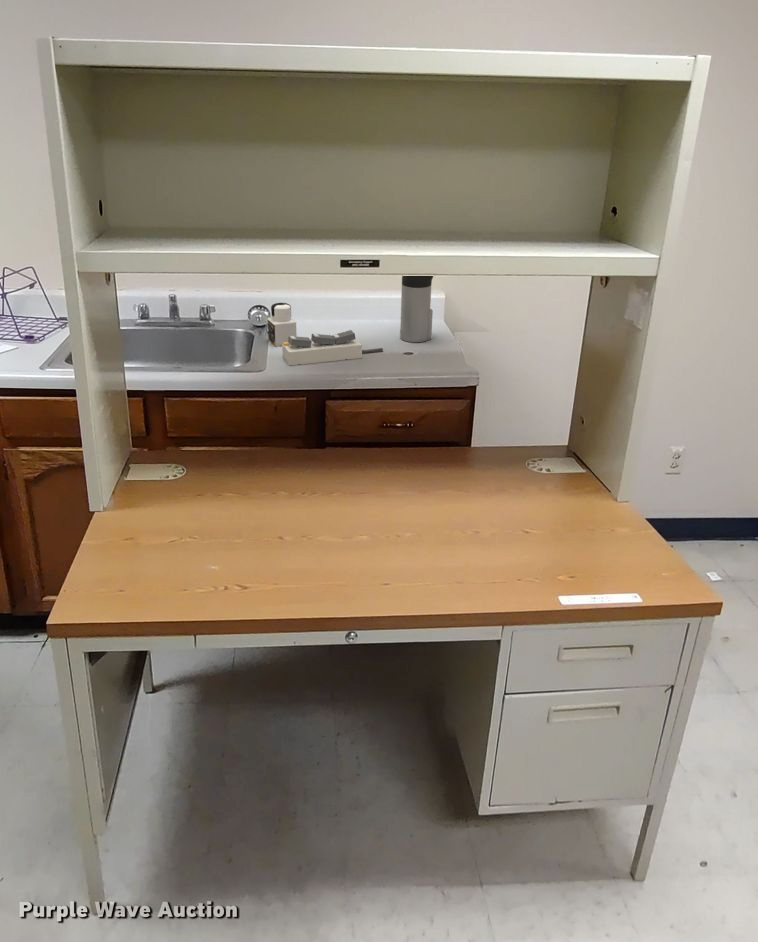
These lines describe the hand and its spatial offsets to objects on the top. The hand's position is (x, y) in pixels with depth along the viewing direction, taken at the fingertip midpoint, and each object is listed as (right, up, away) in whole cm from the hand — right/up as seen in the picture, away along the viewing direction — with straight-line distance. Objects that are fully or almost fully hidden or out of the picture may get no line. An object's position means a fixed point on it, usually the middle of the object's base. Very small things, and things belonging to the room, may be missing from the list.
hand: (320, 272), depth 212 cm
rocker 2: (+6, -18, +12) cm, 22 cm away
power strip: (+3, -22, +13) cm, 25 cm away
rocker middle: (0, -19, +10) cm, 21 cm away
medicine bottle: (-14, -16, +24) cm, 32 cm away
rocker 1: (-7, -20, +7) cm, 22 cm away
